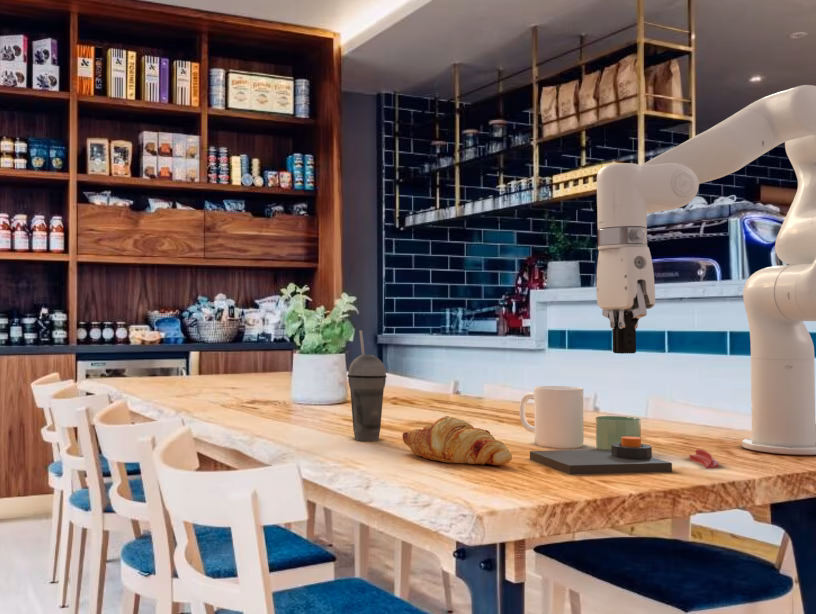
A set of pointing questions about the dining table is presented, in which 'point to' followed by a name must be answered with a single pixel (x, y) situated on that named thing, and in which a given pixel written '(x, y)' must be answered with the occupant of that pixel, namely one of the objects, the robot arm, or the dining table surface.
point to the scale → (603, 460)
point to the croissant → (457, 443)
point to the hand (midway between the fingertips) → (624, 352)
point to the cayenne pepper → (704, 459)
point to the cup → (556, 416)
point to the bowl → (615, 430)
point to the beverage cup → (366, 394)
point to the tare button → (631, 441)
